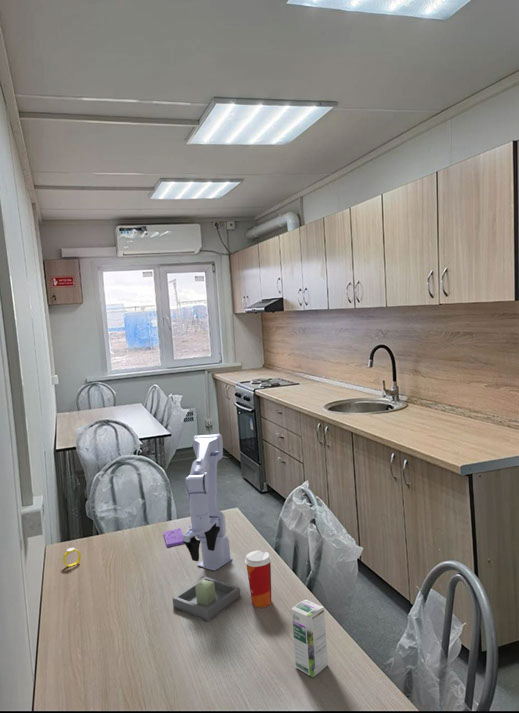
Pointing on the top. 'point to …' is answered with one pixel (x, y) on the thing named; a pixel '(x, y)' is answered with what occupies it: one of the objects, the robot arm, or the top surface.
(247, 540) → the top surface
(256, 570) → the pill bottle
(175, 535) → the sponges
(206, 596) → the green block
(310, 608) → the syrup box
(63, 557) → the gold ring
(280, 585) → the top surface
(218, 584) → the tray
